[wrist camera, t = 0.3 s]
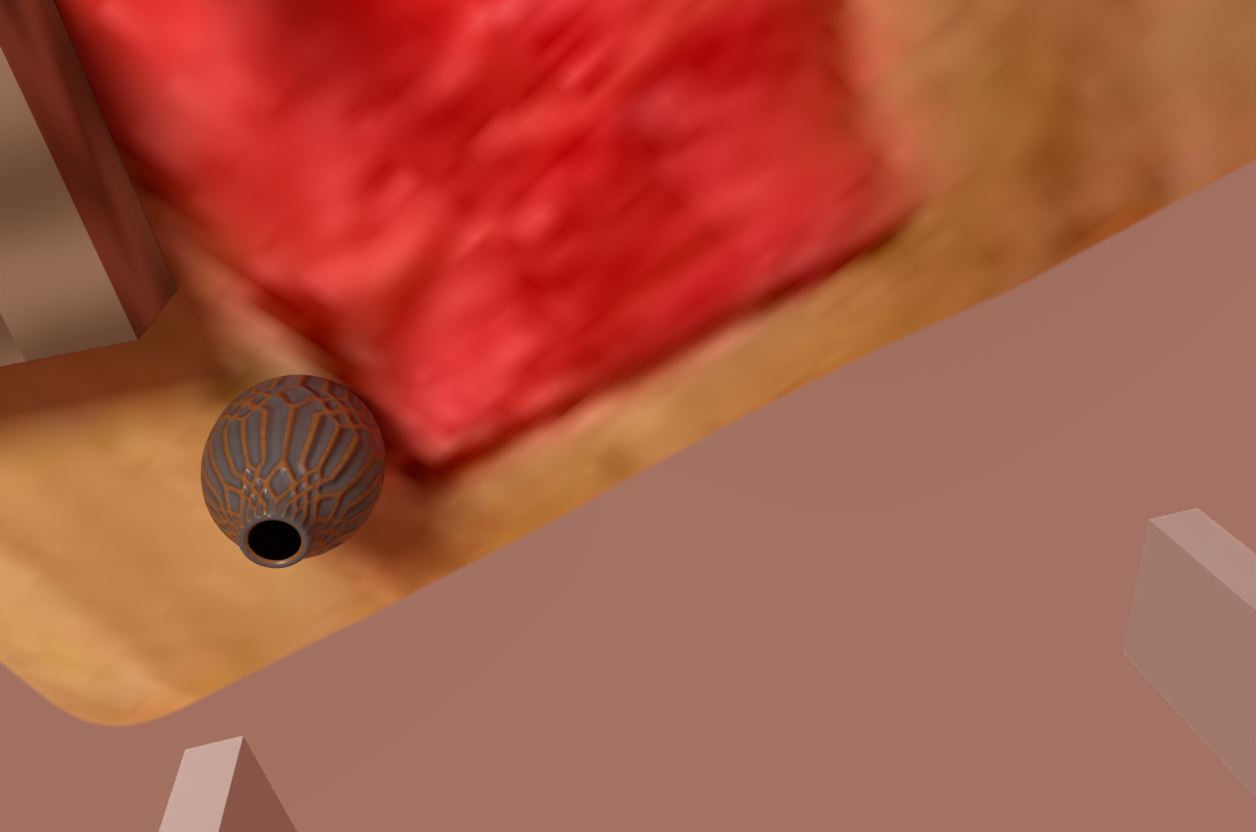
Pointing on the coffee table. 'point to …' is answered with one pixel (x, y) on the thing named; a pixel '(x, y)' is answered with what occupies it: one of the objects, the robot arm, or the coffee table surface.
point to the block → (65, 204)
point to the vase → (292, 469)
